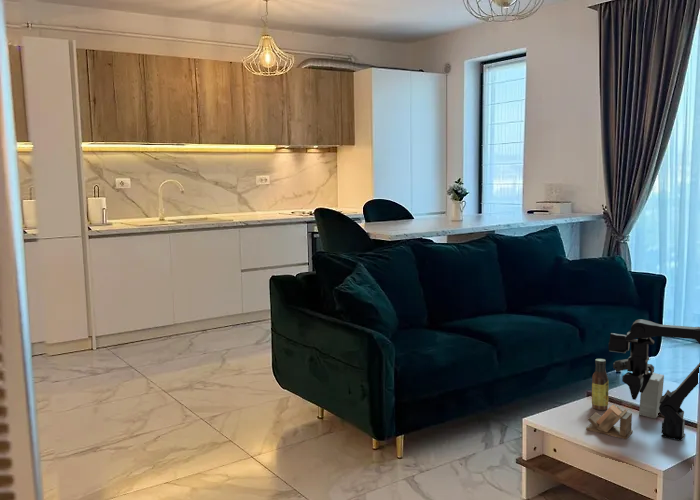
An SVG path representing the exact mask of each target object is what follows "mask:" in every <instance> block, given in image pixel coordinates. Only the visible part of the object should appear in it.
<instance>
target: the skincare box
mask: <svg viewBox="0 0 700 500" xmlns="http://www.w3.org/2000/svg"><path fill="white" fill-rule="evenodd" d="M649 373H650V371H649ZM652 374H653V375H652V376H651V378H650V380H649V382H648V384H647V386H646V388H645V390H644V392H643V393H641V392H640V396H639V397H640V399H639V407H638V409H639V410H638V415H639V416H643V417H647V418H650V419H657V418H658V417H659V415H658V413H659V412H660V411H659V406H660V399H661V397H662V396H663V392H664V391H663V390H664V381H665V375H664V374H660V373H656V372H653V373H652Z"/></svg>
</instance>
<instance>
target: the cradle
mask: <svg viewBox="0 0 700 500" xmlns="http://www.w3.org/2000/svg"><path fill="white" fill-rule="evenodd" d="M616 407H617V408H618V409H619V410H620V411H621V412H622V413H621V414H620V415H619V416H618V417H617V416H616V415H615V414H614V413H613V412H611V413H610V414H609V415H608V417H607V418H606V419H605V420H604V421H603V422H602V423H601V424H600V425H599V424H598V423H597V422H596V421H597V420H598V419H599V418H600V417H601V416H602V415H600V414H599V413H598V412H597V411H595V412H594V413H593V414H592V415H591V416H590V417H589V418H588V419H587V421H588V422H589V423H590V424H589V425H588V426H586V427H585V430H586V431H590V432H594V433H597V434H602V435H606V436H612V437H615V438H619V439H623V440H628V438H629V437H630V436H631V435H632V434H633V433H634V432H633V430H634V429H632V423H633V422H632V419H633V413H631V412H628V410H627V409H626V408H624V409H623V410H622V409H621V408H620V407H619V406H616ZM617 422H619V426H616V424H617Z"/></svg>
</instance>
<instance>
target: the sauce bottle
mask: <svg viewBox="0 0 700 500" xmlns="http://www.w3.org/2000/svg"><path fill="white" fill-rule="evenodd" d="M594 363H595V368H594V372H593V374H592V378H591V379H592V380H591V407H592V408H593V409H594V410H598V411H607V410H608V408H609V392H610V391H609V390H610V389H609V385H610V384H609V377H608V374H607V371H606V364H607V361H606V359H605V358H596V359H595V360H594Z"/></svg>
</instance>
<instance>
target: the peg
mask: <svg viewBox="0 0 700 500" xmlns="http://www.w3.org/2000/svg"><path fill="white" fill-rule="evenodd" d="M617 407H618V406H616V405H615V404H612V405H611V406H608V408H607V409H606V410H605V411H604V413H603V414H602V415H600V416H601V417H600V418H599V419H598V420H597V421H596V422H597V423H598V424H599V425H600V424H601V423H602V422H603V421H604V420H605V419H606V418H607V417H608V415H609V414H610V413H611V412H613V413H614V414H615V415H616V416H617V417H618V416H619V415H620V414H621V413H622V412H621V411H620V410H619V409H618V408H617Z"/></svg>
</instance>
